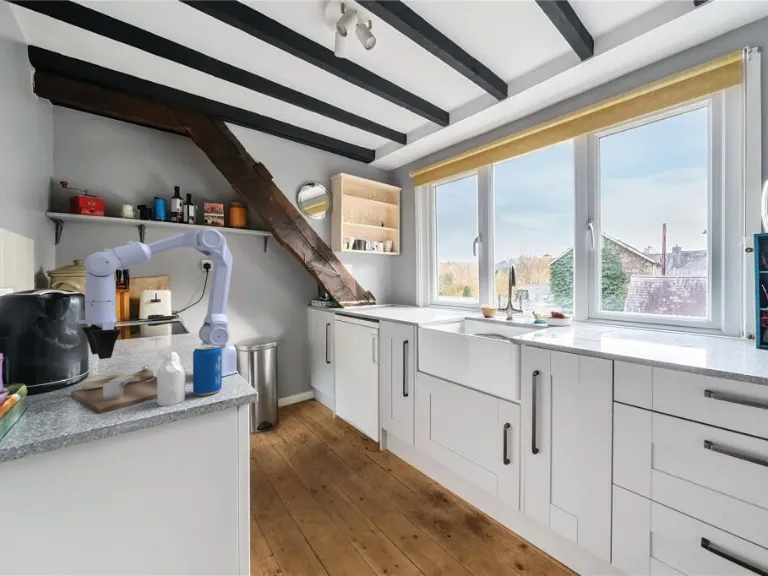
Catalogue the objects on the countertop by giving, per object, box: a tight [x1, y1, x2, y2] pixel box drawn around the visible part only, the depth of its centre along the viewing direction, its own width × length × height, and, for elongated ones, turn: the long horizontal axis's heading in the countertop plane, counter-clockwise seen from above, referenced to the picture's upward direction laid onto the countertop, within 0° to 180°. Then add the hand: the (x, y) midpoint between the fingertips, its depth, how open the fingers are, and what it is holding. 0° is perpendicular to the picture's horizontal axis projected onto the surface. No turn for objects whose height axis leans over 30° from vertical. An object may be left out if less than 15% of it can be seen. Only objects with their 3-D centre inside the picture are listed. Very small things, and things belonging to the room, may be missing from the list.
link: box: [82, 369, 154, 390], centre depth 85 cm, size 14×4×2 cm, turn 133°
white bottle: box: [156, 351, 187, 407], centre depth 76 cm, size 6×12×6 cm
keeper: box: [103, 365, 154, 401], centre depth 82 cm, size 17×4×4 cm, turn 12°
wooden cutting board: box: [70, 375, 157, 414], centre depth 81 cm, size 17×20×1 cm
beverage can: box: [192, 344, 223, 397], centre depth 82 cm, size 6×6×12 cm
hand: (101, 356), depth 79 cm, fingers open, 7 cm apart
